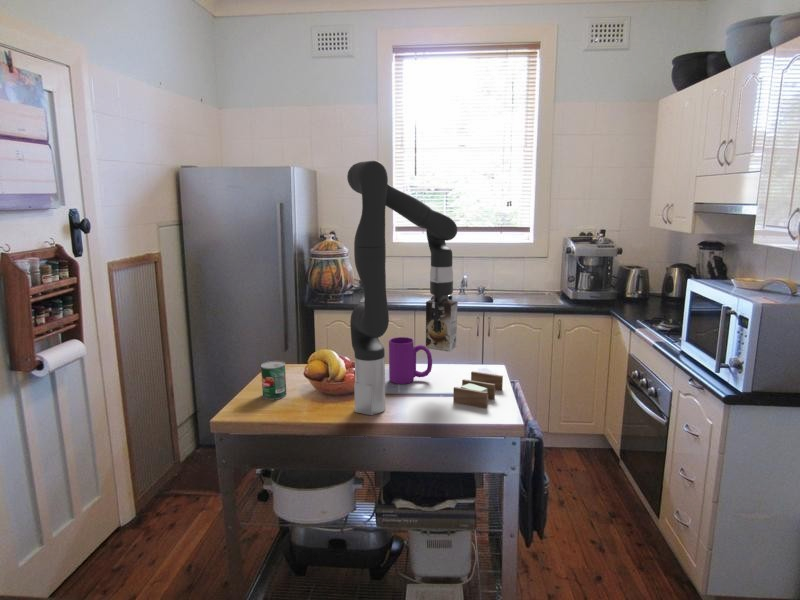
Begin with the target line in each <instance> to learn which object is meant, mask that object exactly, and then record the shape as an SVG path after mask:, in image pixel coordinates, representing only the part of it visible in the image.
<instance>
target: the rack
mask: <svg viewBox="0 0 800 600" xmlns="http://www.w3.org/2000/svg"><path fill="white" fill-rule="evenodd" d="M503 380H504V375H501V374H494V373H493V374H492V373H487V372H480V371H473V370H472V371H471V372H470V379H466V378H465V379H464V378H463V379H462V382H461V386H464V385H466V384H468V383H471V384H475V385H478V386H481V387H485V388H487V392H483V391H477V390H471V389H465V388H461V387H459V386H454V387H453V396H452V397H453V404H459V405H466V406H471V407H477V408H481V409H482V408H483V409H487V408H488V401H489V400H495V399H496V391H501V390H502V391H503V384H504V383H503V382H504V381H503ZM495 389H496V390H495ZM487 400H488V401H487Z"/></svg>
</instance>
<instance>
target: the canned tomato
mask: <svg viewBox="0 0 800 600" xmlns="http://www.w3.org/2000/svg"><path fill="white" fill-rule="evenodd" d="M260 373H261V389H262V398H263V399H264V398H265V400H267V399H270V400H269V401H273V400H274V399H276V400H280V398H281V399H283V398H285V397H286V396H287V378H286V362H285V361H281V360H271V361H265V362H262V363H261V365H260ZM274 401H275V400H274Z"/></svg>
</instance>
